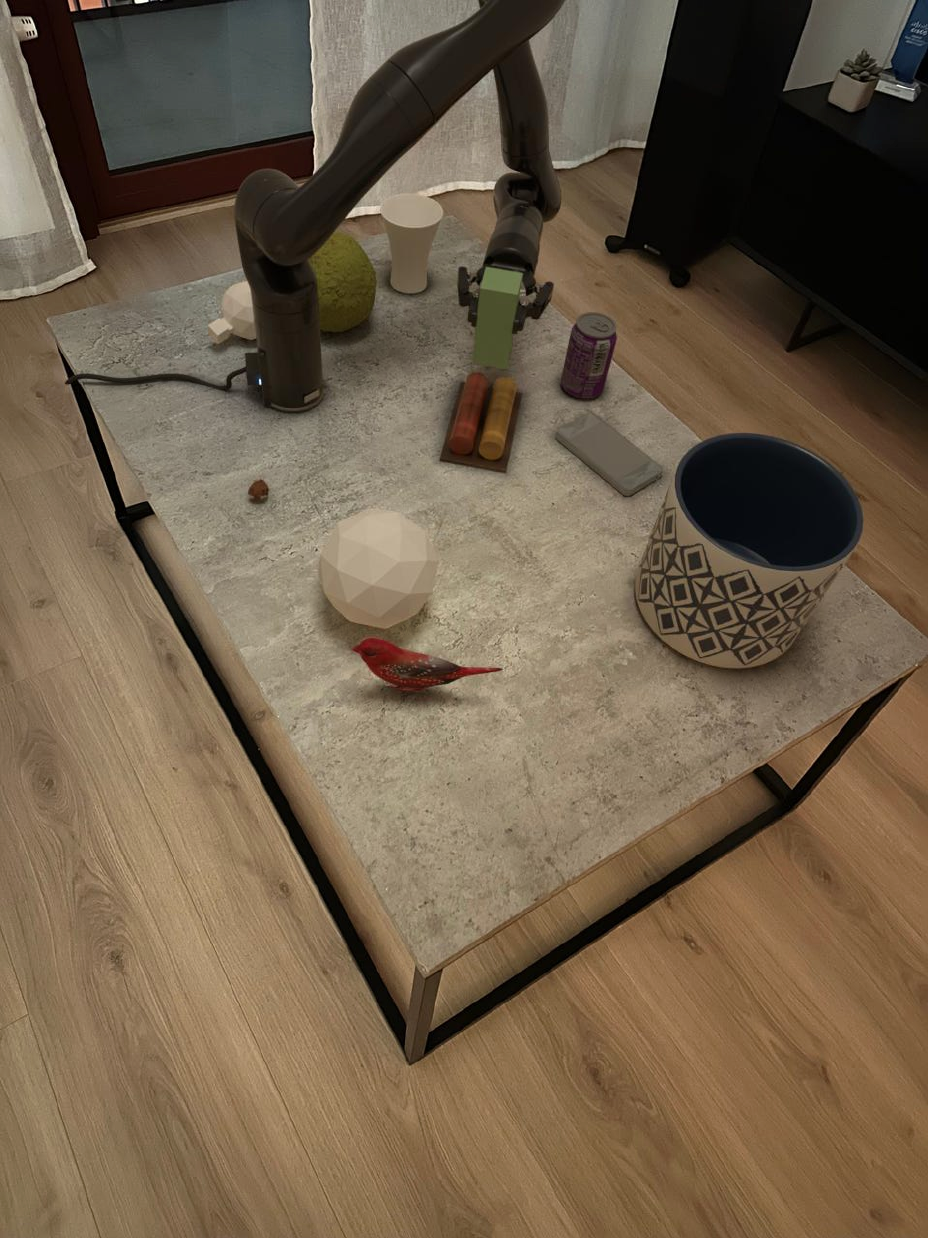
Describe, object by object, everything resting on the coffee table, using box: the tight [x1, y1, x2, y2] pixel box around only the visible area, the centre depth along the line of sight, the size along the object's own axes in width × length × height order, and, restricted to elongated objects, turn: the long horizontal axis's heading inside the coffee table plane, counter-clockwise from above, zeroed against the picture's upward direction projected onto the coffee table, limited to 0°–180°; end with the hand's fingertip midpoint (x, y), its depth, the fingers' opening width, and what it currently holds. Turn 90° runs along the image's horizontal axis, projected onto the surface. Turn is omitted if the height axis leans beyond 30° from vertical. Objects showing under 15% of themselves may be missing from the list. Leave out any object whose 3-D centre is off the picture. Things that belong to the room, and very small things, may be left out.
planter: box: [634, 432, 865, 669], centre depth 113 cm, size 22×22×20 cm
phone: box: [554, 411, 664, 497], centre depth 136 cm, size 8×16×1 cm, turn 40°
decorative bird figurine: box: [350, 637, 504, 692], centre depth 105 cm, size 3×18×10 cm, turn 88°
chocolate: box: [247, 473, 272, 501], centre depth 124 cm, size 3×2×4 cm
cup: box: [379, 193, 444, 294], centre depth 153 cm, size 10×10×14 cm
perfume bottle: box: [207, 279, 256, 345], centre depth 143 cm, size 9×9×12 cm
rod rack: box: [439, 371, 523, 474], centre depth 136 cm, size 18×10×4 cm, turn 170°
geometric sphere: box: [317, 507, 439, 630], centre depth 111 cm, size 14×15×15 cm
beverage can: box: [560, 311, 618, 399], centre depth 141 cm, size 7×7×12 cm
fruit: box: [308, 232, 378, 333], centre depth 146 cm, size 16×14×15 cm
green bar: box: [471, 267, 523, 370], centre depth 123 cm, size 5×5×12 cm
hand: (494, 324), depth 120 cm, fingers closed on green bar, 5 cm apart
